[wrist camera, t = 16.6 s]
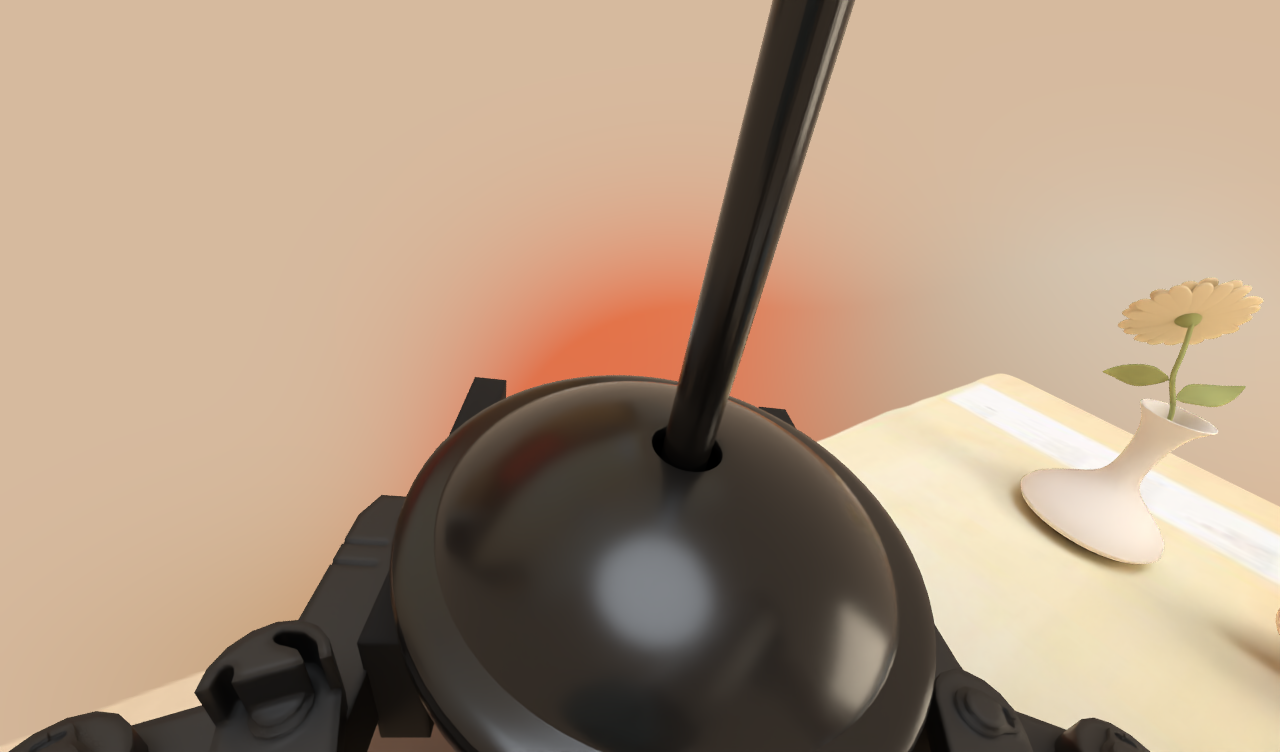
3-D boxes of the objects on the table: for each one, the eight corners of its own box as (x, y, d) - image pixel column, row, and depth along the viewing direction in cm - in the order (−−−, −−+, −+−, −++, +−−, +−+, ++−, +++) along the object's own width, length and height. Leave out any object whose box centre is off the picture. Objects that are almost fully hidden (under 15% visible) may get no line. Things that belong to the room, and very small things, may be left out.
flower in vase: (1135, 523, 49) (1361, 302, 36) (1163, 599, 41) (1470, 345, 28) (994, 462, 55) (1147, 251, 42) (992, 517, 46) (1183, 274, 33)
